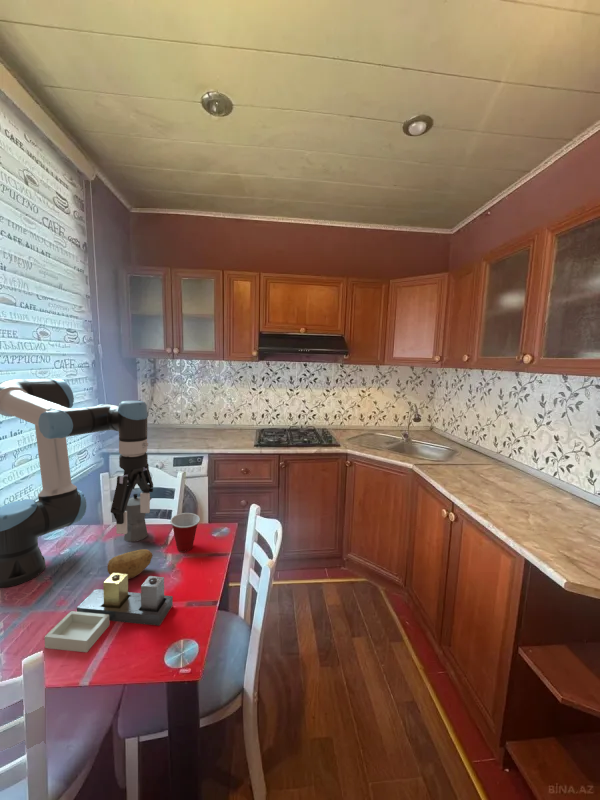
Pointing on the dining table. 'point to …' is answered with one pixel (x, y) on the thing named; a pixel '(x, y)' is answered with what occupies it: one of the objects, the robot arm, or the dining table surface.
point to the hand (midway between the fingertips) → (134, 522)
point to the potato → (130, 563)
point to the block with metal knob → (115, 590)
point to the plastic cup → (185, 530)
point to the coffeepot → (135, 520)
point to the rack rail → (126, 609)
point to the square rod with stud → (152, 594)
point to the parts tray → (77, 631)
